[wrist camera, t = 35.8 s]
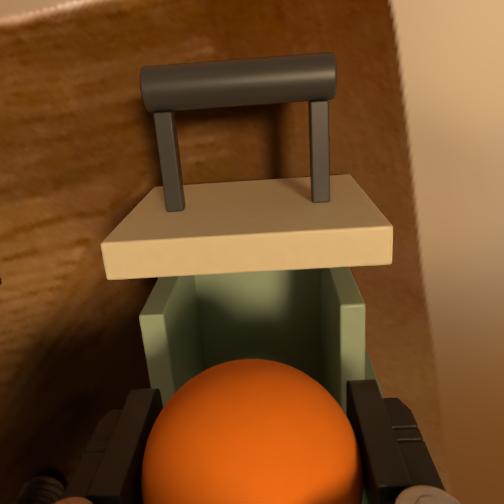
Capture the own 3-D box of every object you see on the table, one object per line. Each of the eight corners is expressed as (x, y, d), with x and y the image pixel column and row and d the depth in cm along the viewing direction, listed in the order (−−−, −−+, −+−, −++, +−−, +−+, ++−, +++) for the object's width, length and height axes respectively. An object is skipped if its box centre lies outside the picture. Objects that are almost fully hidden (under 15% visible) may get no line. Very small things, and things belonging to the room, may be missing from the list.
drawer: (136, 69, 19) (65, 69, 12) (350, 53, 19) (400, 43, 12) (187, 422, 25) (158, 554, 18) (350, 416, 25) (383, 548, 18)
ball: (176, 472, 14) (135, 665, 10) (153, 325, 13) (88, 474, 8) (345, 466, 14) (384, 660, 10) (344, 315, 12) (392, 463, 8)
